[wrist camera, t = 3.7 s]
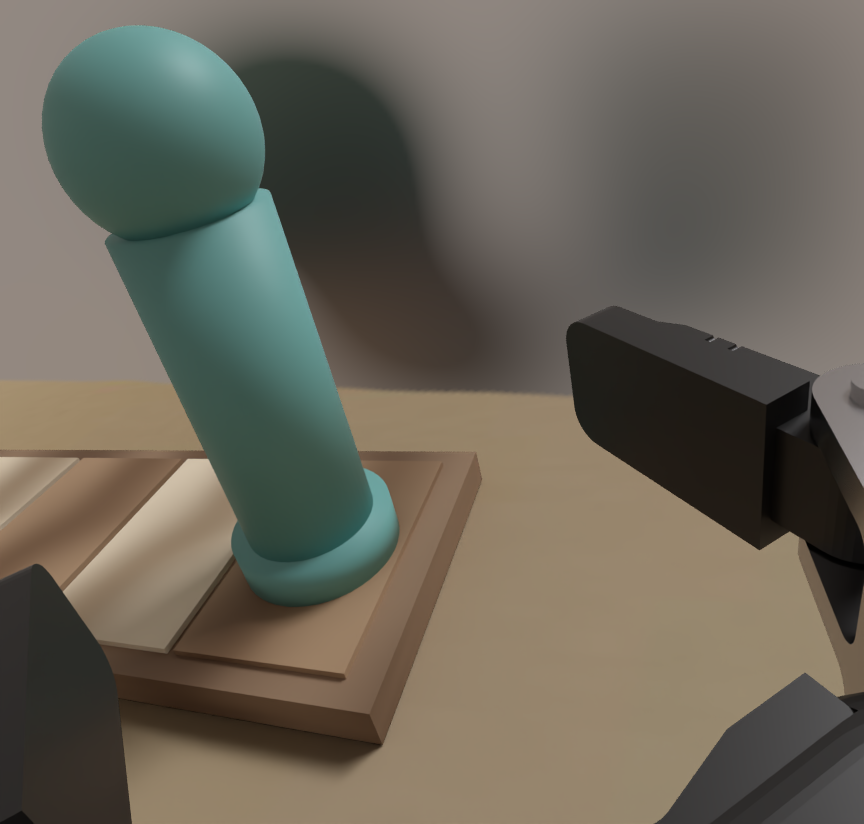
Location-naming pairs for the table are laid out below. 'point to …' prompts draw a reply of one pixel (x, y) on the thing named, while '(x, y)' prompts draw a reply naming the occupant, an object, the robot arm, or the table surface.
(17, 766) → the robot arm
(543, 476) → the table surface
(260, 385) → the pawn
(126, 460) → the board
